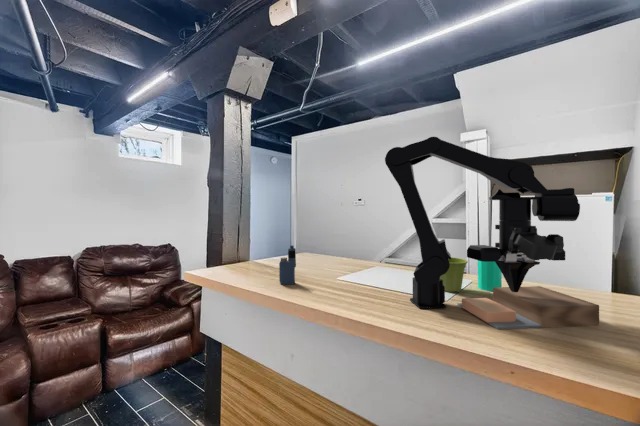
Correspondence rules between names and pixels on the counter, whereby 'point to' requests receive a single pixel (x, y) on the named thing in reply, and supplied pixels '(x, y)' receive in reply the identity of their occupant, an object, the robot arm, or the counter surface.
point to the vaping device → (288, 267)
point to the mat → (519, 323)
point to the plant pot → (454, 275)
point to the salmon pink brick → (489, 310)
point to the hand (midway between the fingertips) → (514, 291)
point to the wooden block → (548, 306)
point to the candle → (489, 275)
